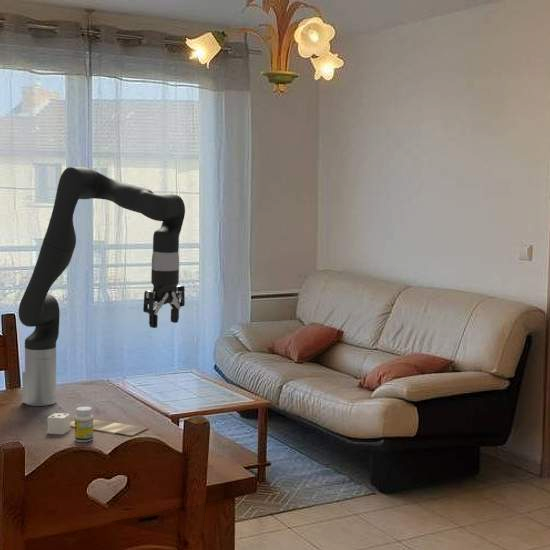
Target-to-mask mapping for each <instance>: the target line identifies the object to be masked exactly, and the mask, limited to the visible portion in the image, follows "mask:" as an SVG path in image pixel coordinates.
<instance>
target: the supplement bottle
mask: <svg viewBox="0 0 550 550" xmlns="http://www.w3.org/2000/svg"><path fill="white" fill-rule="evenodd" d="M92 410H93V409H92V407H91V406H78V407H76V409H75V414H76V415H75V417H74V421H75V427H74V440H75V441H76V442H78V443H88V441H89V442H91V440H92V441H93V440H94V431H93V419H94V415H93V411H92Z"/></svg>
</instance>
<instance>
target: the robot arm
mask: <svg viewBox="0 0 550 550" xmlns="http://www.w3.org/2000/svg"><path fill="white" fill-rule="evenodd" d="M56 188H57V189H56V193H55V197H54V198H55V199H54V204H53V209H52V213H51V215H50V219H49V223H48V226H47V229H46V231H45V234H44V237H43V240H42V243H41V246H40V250H39V254H38V257H37V261H36V263H35V266H34V269H33V270H32V275H31V277H30V279H29V281H28V285H27V286H26V289H25V291H24V293H23V295H22V298H21V299H20V303H19V306H18V319H19V321H20V322H21V324H22V325H23V326H24V327H27V328H28V327H29V328H30V327H31V328H32V327H33V328H34V327H35V328H34V331H33V332H32V333H30V335H28V336H27V337H26V338H25V340H24V371H22V373H21V376H22V377H21V379H22V380H21V381H22V383H21V386H22V391H21V392H22V403H24V404H25V405H26V406H27V405H28V406H32V407H43V406H50V405H53V404H56V403H57V341H58V338H59V336H60V335H59V334H60V333H59V332H60V318H61V317H60V314H61V313H60V306H59V302H58V300H57V299H56V297H55V296H54V295H51V294H48V293H49V291H50V289H51V287H52V286H53V285H54V283H55V282H56V281H57V280H58V278H59V277H60V276H61V275H62V273H64V271H65V270H66V269H67V268H68V266H69V265H70V263H71V260H72V257H73V254H74V251H75V249H76V246H77V245H76V244H77V235H76V230H75V227H74V226H75V225H74V221H73V220H74V213H75V210H76V208H77V207H76V206H77V204H78V201H79V200H91V199H92V200H93V199H99V200H107V201H111V202H112V203H114V204H116V205H117V206H119V207H121V208H123V209H125V210H128V211H131V212H135V213H139V214H141V215H143V216H144V217H147V218H148V219H150V220H153V221H156V222H157V221H158V222H162V223H161V227H160V228H158V229H157V230H155V231H154V233H153V235H152V237H153V238H152V255H151V276H150V278H151V280H150V283H151V284H152V285H153V289H152V290H144V295H143V308H142V311H143V313H146V314H148V325H149V327H150V328H151V329H152V328H153V329H157V328H158V317H159V316H158V312H159V311H160V309H162V307H163V305H168V304H169V306H170V308H171V309H170V322H171V323H173V324H176V323H179V318H180V310H181V308H182V307H185V304H186V299H185V298H186V297H185V293H186V292H185V286H184V285H180V284H179V283H180V254H179V253H180V252H179V251H180V249H179V248H180V244H179V243H180V239H179V238H180V235H181V231H182V228H183V223H184V220H185V214H186V207H185V202H184V200H183V199H182V197H181V196H180V195H178V194H174V193H172V194H155V192H153V191H152V190H151V189H148V188H145V187H142V186H138V185H135V184H130V183H126V182H122V181H119V180H115V179H113V178H112V177H109V176H107V175H105V174H103V173H101V172H99V171H97V170H95V169H93V168H91V167H85V166H84V167H82V166H69V167H67V168H65V169H64V170H63V171H62V173H61V175H60V177H59V180H58V185H57V187H56Z"/></svg>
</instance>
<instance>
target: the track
mask: <svg viewBox="0 0 550 550" xmlns="http://www.w3.org/2000/svg"><path fill="white" fill-rule="evenodd" d="M70 428H75V420H74V421H70ZM93 430H95V431H94V432H100V431H101V432H100V433H106V432H107V433H108V434H113V435H118V436H124V435H125V436H124V437H126V436H127V437H131V438H132V437H134V435H135V436H137V435H140V434H141V433H143V432H146V431H147V430H149V427H146V426H140V425H139V426H138V425H132V424H126V423H120V422H114V421H113V422H112V421H107V420H100V419H95V418H93ZM107 433H106V434H107ZM136 434H137V435H136Z"/></svg>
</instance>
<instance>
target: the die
mask: <svg viewBox="0 0 550 550" xmlns="http://www.w3.org/2000/svg"><path fill="white" fill-rule="evenodd" d="M70 422H71V413H60V412H59V413H58V412H54V413H52V414H50V415H49V416H47V434H48V433H49V434H51V435H63V434H64V435H65V434H67V433H68V432H69V431H71V427H70ZM66 432H67V433H66Z"/></svg>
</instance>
